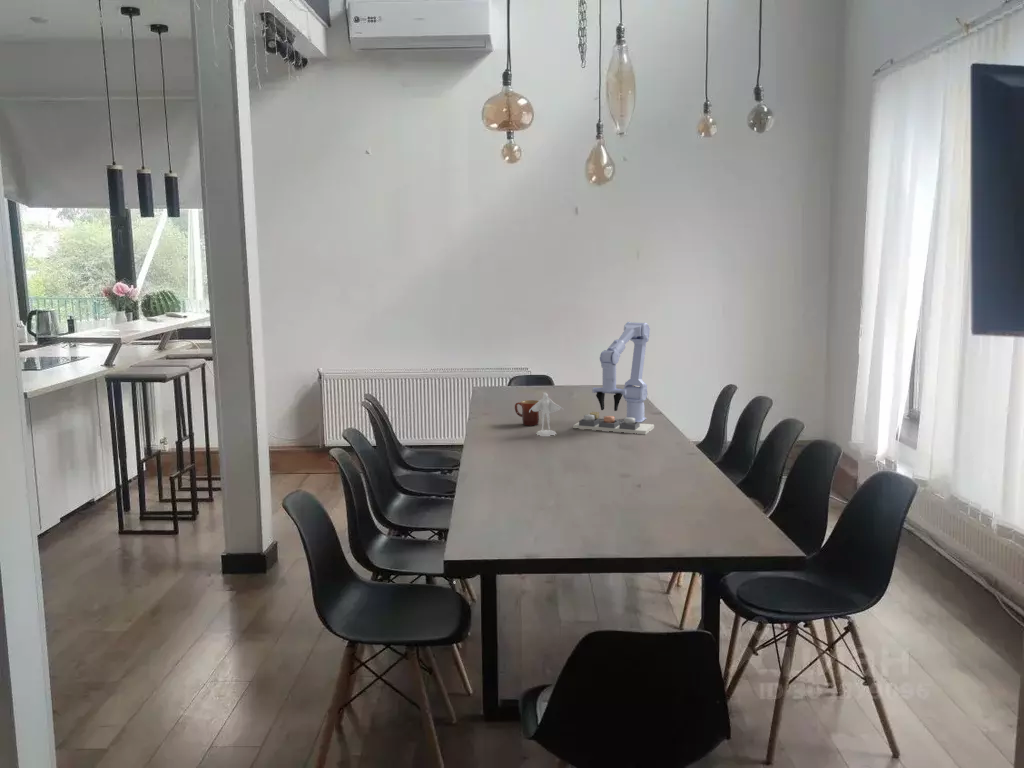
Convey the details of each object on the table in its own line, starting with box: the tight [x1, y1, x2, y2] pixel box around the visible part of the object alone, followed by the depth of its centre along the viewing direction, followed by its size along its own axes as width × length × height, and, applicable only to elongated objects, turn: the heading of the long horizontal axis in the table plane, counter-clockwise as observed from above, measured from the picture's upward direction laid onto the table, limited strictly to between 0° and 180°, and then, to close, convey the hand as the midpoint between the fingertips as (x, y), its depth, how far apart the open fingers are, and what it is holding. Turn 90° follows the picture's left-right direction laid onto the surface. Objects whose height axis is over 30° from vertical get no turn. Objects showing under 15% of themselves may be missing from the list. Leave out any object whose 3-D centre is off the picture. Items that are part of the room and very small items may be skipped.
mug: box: [514, 399, 540, 427], centre depth 357 cm, size 12×9×10 cm
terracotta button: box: [603, 415, 616, 423], centre depth 344 cm, size 5×5×2 cm
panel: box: [572, 417, 655, 435], centre depth 347 cm, size 14×32×4 cm, turn 65°
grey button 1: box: [583, 413, 595, 422], centre depth 348 cm, size 5×5×2 cm
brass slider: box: [589, 411, 600, 419], centre depth 354 cm, size 4×3×4 cm
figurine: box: [529, 391, 565, 437], centre depth 338 cm, size 14×11×18 cm
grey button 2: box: [623, 416, 635, 425], centre depth 340 cm, size 5×5×2 cm
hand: (609, 410), depth 344 cm, fingers open, 5 cm apart
